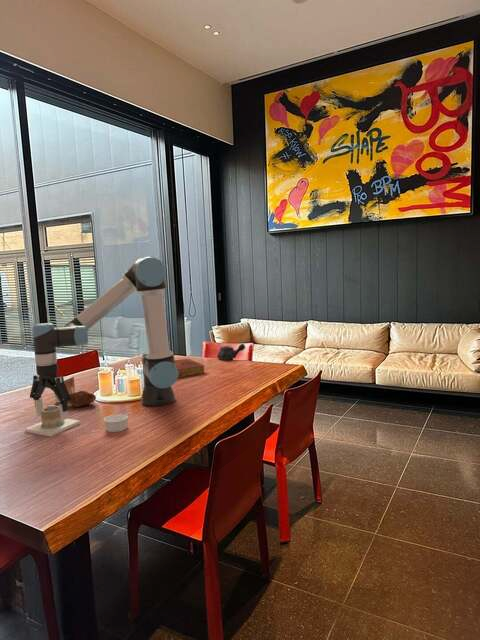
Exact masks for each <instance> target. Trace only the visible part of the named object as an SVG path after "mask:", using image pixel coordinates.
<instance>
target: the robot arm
mask: <svg viewBox="0 0 480 640" xmlns="http://www.w3.org/2000/svg"><path fill="white" fill-rule="evenodd" d="M166 276H167V269H166V266H165V265H164V263H163V262H162V260H160V259H159V258H157V257H154V256H144V257H141V258H138V259H137V260H135V262H134V263H133V264H132V265H131V267H129V268H128V270H126V271H125V272H124V273H123V274H122V276H121V279H119V280H118V281H117V282H116V283H114V285H112V286H111V287H110V288H109V289H107V290H106V291H105V292H104V293H102V295H100V296H99V297H98V298H96V300H94V301H93V302H92V303H91V304H89V305H88V306H87V307H86V308H85V309H83V310H82V311H81V312H79V314H77V315H76V316H75V317H74V318H73V319H72V320H70V322H67V323H65V325H63V327H55V324H54V323H52V322H45V323H43V322H42V323H37V324H34V325H33V326H32V340H33V350H34V359H35V360H34V361H35V365H36V366H35V368H36V369H35V370H36V375H33V377H32V380H33V381H32V385H31V389H30V393H29V398H30V399H33V401H34V408H35V412H36V413H35V414H36V415H35V416H36V417H41V409H43V408H44V403H43V397H42V395H43V394H44V391H45V389H46V388H47V389H50V390H51V391H53V393H54V396H55V395H56V396H57V398H58V399H59V401H60V402H61V403H58V406H60V417H61V421H63V420H65V419H69V418H68V417H69V415H68V410H69V406H68V403H67V402H69V401H71V397H70V395H69V393H68V390H67V388H66V386H65V383H64V379H63V377H64V376H59V377H58V375H57V374H58V372H59V367H58V365H59V364H58V363H57V362H58V358H57V357H58V356H57V348H62V347H63V348H64V347H77V346H78V347H80V346H83V345H87V344H88V343H89V337H88V336H89V335H88V331H89V330H90V329H92V328H93V327H94V326H95V325H97V324H98V323H99V322H100V321H101V320H102V319H103V318H105V317H106V316H107V315H108V314H110V313H111V312H112V311H113V310H115V308H117V307H118V306H119V305H120V304H122V303H123V302H124V301H125V300H126V299H127V298H129V296H131V295H132V294H133V293H135V292H136V293H138V294H139V295H140V296H141V302H142V311H143V317H144V318H143V319H144V323H145V324H144V326H145V332H146V334H145V335H146V341H147V349H148V351H147V352H143V353H142V355H141V357H142V358H141V362H142V365H143V373H142V374H143V388H142V389H143V390H142V394H141V398H140V402H141V404H142V405H144V406H146V407H162V406H166V405H170V404H171V403H173V402H175V400H176V395H175V392H174V389H173V385H174V384H175V383H176V381H177V380H178V369H177V367H176V366H175V355H174V352H173V351H172V350H170V341H169V335H168V328H167V326H168V325H167V319H166V311H165V309H166V308H165V302H164V294H163V293H164V292H165V291H166V287H167V286H166V280H165V279H166ZM55 385H56V386H55ZM67 398H68V399H67Z"/></svg>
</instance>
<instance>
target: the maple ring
mask: <svg viewBox="0 0 480 640" xmlns="http://www.w3.org/2000/svg"><path fill="white" fill-rule="evenodd" d="M40 417H41V422H42V426H43V427H53V426H58V425H60V424H62V422H63V421H61V417H60V406H59V405H55V410H52V411H47V406H46V407H43V409H41V416H40Z"/></svg>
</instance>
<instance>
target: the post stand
mask: <svg viewBox="0 0 480 640" xmlns="http://www.w3.org/2000/svg"><path fill="white" fill-rule="evenodd" d="M55 406H56V405H55V404H51V405H50V404H49V405H47V406H46V407H47V411H52V410H55ZM78 425H81V421H80V420H78V419H73V418H72V419H71V418H67V419H65V420H63V422H62V424H60V425H58V426H53V427H43V426H42V421H40V422H38V423H36V424H33V425H30V426H28V427H26V428H25V427H24V432H25V433H29V434H30V433H31V434H35V435H41V436H46V437H50V438H51V437H53V436H56V435H57V434H61V433H63V432H65V431H67V430H70V429H71V428H74V427H77V426H78Z"/></svg>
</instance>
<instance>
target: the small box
mask: <svg viewBox="0 0 480 640" xmlns="http://www.w3.org/2000/svg"><path fill="white" fill-rule="evenodd" d="M62 377H63V379H64V383H65V386H66V388H67V390H68V393H69V394H73V393H76V388H75V387H76V385H75V377H74V376H62ZM55 386H56V385H55ZM54 397H55V403H58V404H60V403H61V402H60V401H59V399H58V398H57V396H56V395H55V394H54Z"/></svg>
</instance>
